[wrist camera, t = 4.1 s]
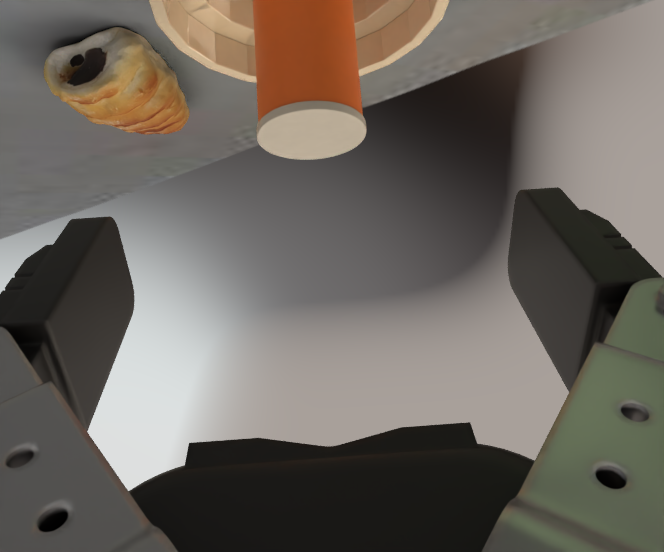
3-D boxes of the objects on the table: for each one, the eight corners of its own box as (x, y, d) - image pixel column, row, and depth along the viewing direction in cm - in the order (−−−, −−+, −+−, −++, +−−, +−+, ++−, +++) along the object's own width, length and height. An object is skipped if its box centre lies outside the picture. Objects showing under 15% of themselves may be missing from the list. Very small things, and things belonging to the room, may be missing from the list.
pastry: (214, 97, 42) (215, 148, 41) (130, 117, 44) (130, 167, 43) (128, 16, 33) (127, 79, 32) (29, 46, 35) (25, 106, 34)
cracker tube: (228, -55, 28) (235, 144, 26) (286, -125, 25) (301, 97, 23) (307, -15, 31) (320, 167, 29) (368, -73, 28) (389, 128, 26)
